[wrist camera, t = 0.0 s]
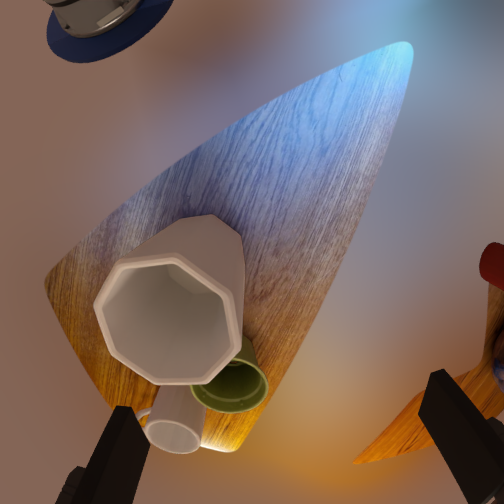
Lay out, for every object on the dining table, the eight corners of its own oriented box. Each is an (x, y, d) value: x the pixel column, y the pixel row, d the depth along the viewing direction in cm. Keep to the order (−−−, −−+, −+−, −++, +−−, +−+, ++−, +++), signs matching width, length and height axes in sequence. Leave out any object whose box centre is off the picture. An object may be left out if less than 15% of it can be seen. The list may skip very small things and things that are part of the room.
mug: (132, 377, 42) (111, 417, 33) (201, 375, 42) (191, 420, 32) (148, 411, 44) (133, 451, 35) (212, 410, 44) (206, 454, 34)
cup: (154, 284, 38) (92, 363, 20) (169, 203, 35) (98, 231, 17) (234, 306, 39) (223, 404, 21) (257, 226, 36) (263, 277, 18)
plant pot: (266, 372, 42) (269, 412, 33) (204, 374, 42) (196, 413, 33) (263, 319, 39) (267, 355, 31) (195, 322, 39) (183, 357, 31)
